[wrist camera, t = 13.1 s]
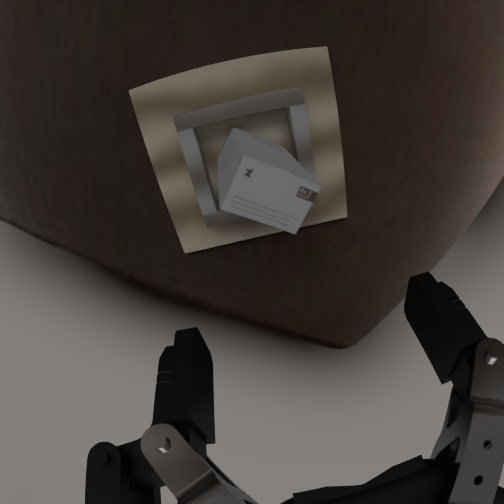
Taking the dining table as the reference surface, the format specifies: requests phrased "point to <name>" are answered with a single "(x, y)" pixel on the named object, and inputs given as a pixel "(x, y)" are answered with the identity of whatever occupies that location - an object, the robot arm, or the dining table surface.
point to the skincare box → (263, 182)
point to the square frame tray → (246, 118)
